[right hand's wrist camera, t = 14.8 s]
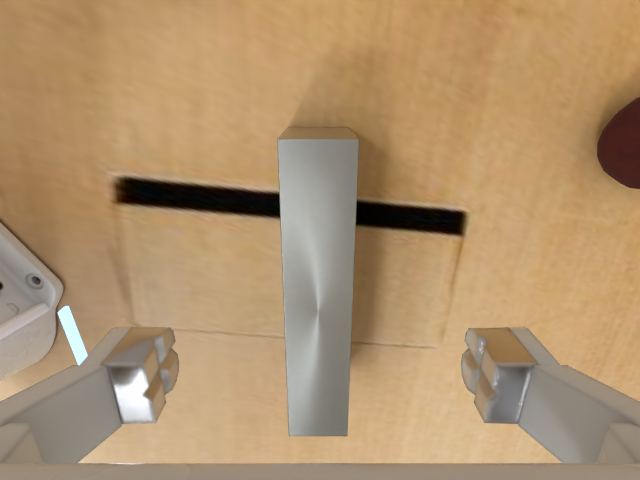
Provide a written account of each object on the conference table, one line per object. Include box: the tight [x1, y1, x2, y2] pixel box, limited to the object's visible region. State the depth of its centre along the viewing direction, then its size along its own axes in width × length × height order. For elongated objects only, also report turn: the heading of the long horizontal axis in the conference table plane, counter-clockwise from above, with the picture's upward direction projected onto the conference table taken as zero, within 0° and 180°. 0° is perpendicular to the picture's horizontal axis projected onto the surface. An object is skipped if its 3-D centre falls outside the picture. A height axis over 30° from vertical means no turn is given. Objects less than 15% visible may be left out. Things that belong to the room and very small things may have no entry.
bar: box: [277, 127, 359, 436], centre depth 32 cm, size 25×5×8 cm, turn 0°
